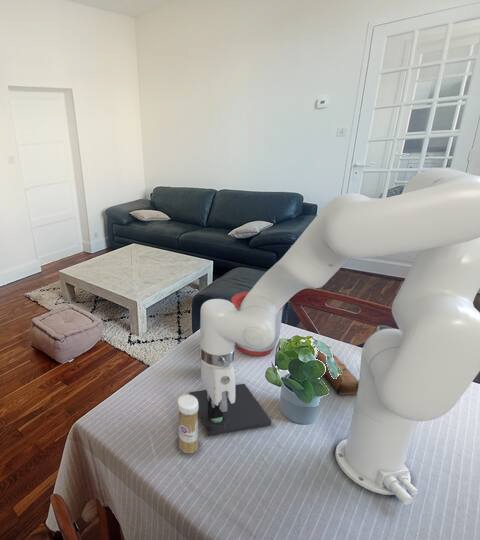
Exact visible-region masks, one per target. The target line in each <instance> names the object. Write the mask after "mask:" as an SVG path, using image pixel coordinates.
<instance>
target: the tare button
mask: <svg viewBox="0 0 480 540" xmlns="http://www.w3.org/2000/svg"><path fill="white" fill-rule="evenodd" d="M210 420H211V421H212V422H215V423H220V422H222V417H220V418H214V419H210Z"/></svg>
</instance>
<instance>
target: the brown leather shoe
mask: <svg viewBox="0 0 480 540" xmlns="http://www.w3.org/2000/svg"><path fill="white" fill-rule="evenodd" d="M318 350H319V349H318ZM318 350H317V351H318ZM320 351H321V350H320ZM320 351H318V355H317V357H316V359H318V360H320V361H322V362H323V363H324V364H325V366H326V372H325V374H324V375H323V377H324V378H325V379H326V380H327V382H328V383H329V384H330V385H331V387H332V388H333V389H334V391H336V392H337V394H339V395H340V396H352V395H357V390H358V382H359V379H357V377H355V376H354V374H353V373H352V372H351V371H350V370H349V369H348V368H347V366H346V365H345V364H344V363H343V362H342V361H341V360H339V358H338V357H337V356H336V355H335V354H333V358H334V360H335V362H336V364H337V366H338V367H339V368H340V369H341V370H342V371H343V374H342V375H339V376H338V377H337V379H333V378H332V377H331V375H330V373H329V370H328V367H327V364H326V362H325V361H326V356H325V355H324V354H323V353H321V352H320Z"/></svg>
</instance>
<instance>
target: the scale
mask: <svg viewBox="0 0 480 540" xmlns="http://www.w3.org/2000/svg"><path fill="white" fill-rule="evenodd" d="M189 395H192V396H194V397H196V398H197V400H198V419H199V420H200V422H201V424H202V427H203V429H204V431H205V433H206V435H207V437H211V436H212V437H213V436H218V435H224V434H229V433H235V432H241V431H248V430H252V429H258V428H265V427H269V426H270V427H271V426H272V420H271V419H270V417H269V416H268V414H267V413H266V412H265V410H264V409H263V408H262V406H261V404H260V403H259V402H258V401H257V399H256V398H255V396H254V395H253V393H252V392H251V391H250V390H249V388H248V387H247V385H246V384H245V383H241V384H239V383H238V384H235V403H232V404H231V403H230V401H229V399H228V398H227V409H228V411H226V412H223V416H222V422H220V423H215V422H212V421H211V420H210V417H209V415H208V398H207V390H206V389H202V390H195V391H189Z"/></svg>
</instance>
